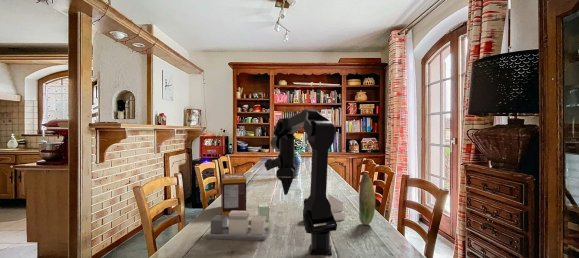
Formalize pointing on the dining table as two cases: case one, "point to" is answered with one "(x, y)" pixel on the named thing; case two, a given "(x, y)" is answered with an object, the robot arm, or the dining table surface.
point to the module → (238, 222)
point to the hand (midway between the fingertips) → (286, 191)
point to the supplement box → (233, 193)
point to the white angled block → (336, 208)
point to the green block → (263, 210)
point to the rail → (254, 233)
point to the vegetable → (366, 200)
